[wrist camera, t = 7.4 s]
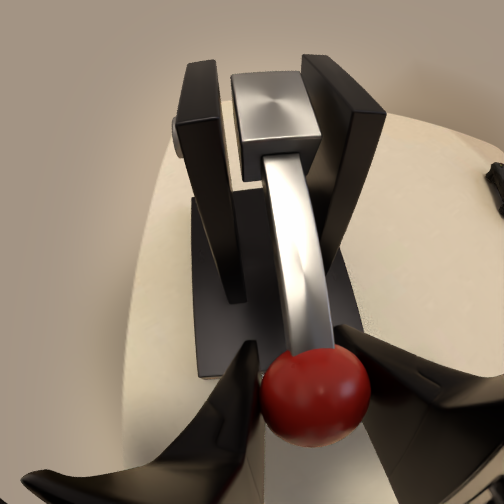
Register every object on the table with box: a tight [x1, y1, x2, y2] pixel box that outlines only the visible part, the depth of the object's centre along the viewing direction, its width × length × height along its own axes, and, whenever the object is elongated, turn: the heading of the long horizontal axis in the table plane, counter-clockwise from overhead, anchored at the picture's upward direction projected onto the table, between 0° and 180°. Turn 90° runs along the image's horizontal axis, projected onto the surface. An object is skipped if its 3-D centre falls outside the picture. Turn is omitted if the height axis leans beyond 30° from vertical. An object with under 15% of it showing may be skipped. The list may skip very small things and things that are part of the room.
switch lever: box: [230, 71, 371, 448], centre depth 7 cm, size 11×3×3 cm, turn 7°
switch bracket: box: [172, 54, 387, 380], centre depth 12 cm, size 12×9×12 cm
